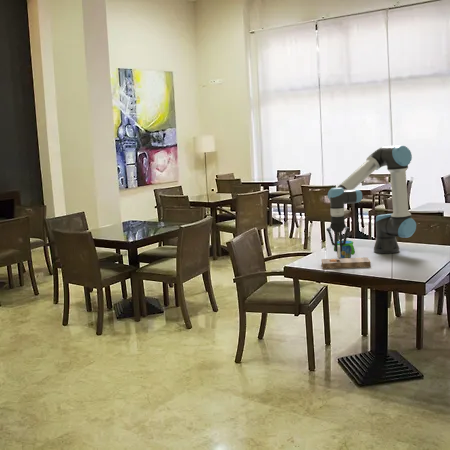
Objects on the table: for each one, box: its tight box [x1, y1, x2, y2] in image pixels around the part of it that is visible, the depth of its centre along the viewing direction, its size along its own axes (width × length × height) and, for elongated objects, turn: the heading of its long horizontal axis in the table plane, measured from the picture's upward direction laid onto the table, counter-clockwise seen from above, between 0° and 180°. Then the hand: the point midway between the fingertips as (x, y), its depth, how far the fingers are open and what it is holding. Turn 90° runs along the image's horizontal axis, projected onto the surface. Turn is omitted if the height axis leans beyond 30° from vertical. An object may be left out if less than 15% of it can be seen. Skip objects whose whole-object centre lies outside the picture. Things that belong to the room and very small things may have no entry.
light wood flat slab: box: [321, 256, 372, 270], centre depth 326 cm, size 26×12×3 cm, turn 83°
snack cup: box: [333, 239, 356, 258], centre depth 344 cm, size 16×10×10 cm
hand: (339, 257), depth 326 cm, fingers closed
